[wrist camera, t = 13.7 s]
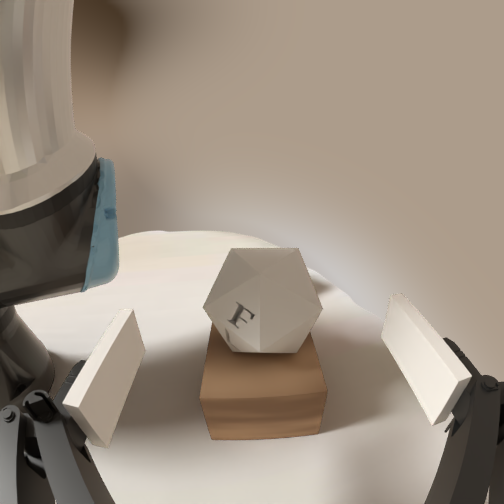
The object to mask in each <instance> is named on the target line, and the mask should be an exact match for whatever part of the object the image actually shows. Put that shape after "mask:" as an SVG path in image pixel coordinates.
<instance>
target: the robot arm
mask: <svg viewBox="0 0 504 504" xmlns="http://www.w3.org/2000/svg"><path fill="white" fill-rule="evenodd" d="M73 3H74V0H0V504H55V500H56V503H57V504H115V502H114V500H113V499H112V497H111V495H110V493H109V491H108V490H107V488H106V486H105V484H104V482H103V480H102V478H101V476H100V474H99V472H98V470H97V468H96V466H95V464H94V461H93V459H92V457H91V455H90V452H89V450H88V448H87V446H86V445H85V440H86V438H88V439H89V441H90V442H91V443H92V444H93V445H96V446H100V447H104V448H108V447H109V444H110V442H111V439H112V436H113V433H114V430H115V428H116V425H117V422H118V419H119V417H120V414H121V411H122V409H123V406H124V404H125V401H126V398H127V396H128V393H129V391H130V388H131V386H132V383H133V381H134V378H135V376H136V373H137V371H138V368H139V366H140V364H141V361H142V359H143V356H144V354H145V352H146V350H145V347H144V344H143V341H142V338H141V334H140V331H139V328H138V324H137V321H136V318H135V314H134V310H133V309H120V310H119V312H118V313H117V315H116V316H115V318H114V319H113V321H112V322H111V324H110V325H109V327H108V328H107V330H106V331H105V333H104V334H103V336H102V337H101V339H100V341H99V342H98V344H97V345H96V347H95V348H94V350H93V352H92V353H91V355H90V357H89V358H88V360H87V361H84V360H81V361H80V362H79V363H77V364H76V365H75V366H74V367H73V368H72V370H71V371H70V373H69V376H67V378H66V380H65V383H63V385H62V386H61V388H60V390H59V391H58V393H57V395H56V396H55V398H54V400H53V401H52V399H51V398H50V396H49V395H48V391H49V389H50V387H51V385H52V382H53V378H54V364H53V361H52V359H51V357H50V355H49V353H48V351H47V349H46V348H45V346H44V345H43V343H42V342H41V341H40V340H39V339H38V338H37V337H36V336H35V334H34V333H33V332H32V331H31V330H30V329H29V327H28V326H27V325H26V324H25V323H24V321H23V320H22V319H21V318H20V317H19V315H18V314H17V312H16V310H15V307H14V305H18V304H23V303H28V302H33V301H38V300H43V299H48V298H53V297H58V296H63V295H68V294H73V293H78V292H85V291H86V290H87V289H90V288H93V287H96V286H100V285H103V284H106V283H109V282H110V281H112V280H113V279H114V278H115V277H116V275H117V273H118V269H119V245H118V228H117V217H116V188H115V170H114V164H113V162H112V161H111V160H110V159H104V158H99V159H98V160H97V157H96V149H95V144H94V142H93V141H92V139H91V138H89V137H88V136H86V135H85V134H83V133H81V132H79V131H78V130H76V128H75V126H74V116H73V103H72V88H71V27H72V13H73ZM381 338H382V340H383V341H384V343H385V344H386V346H387V348H388V349H389V351H390V353H391V354H392V356H393V358H394V359H395V361H396V363H397V364H398V366H399V368H400V369H401V371H402V373H403V374H404V376H405V378H406V380H407V381H408V383H409V385H410V386H411V388H412V390H413V392H414V394H415V395H416V397H417V399H418V401H419V403H420V404H421V406H422V408H423V410H424V412H425V413H426V415H427V417H428V419H429V421H430V423H431V425H432V426H433V425H436V424H438V423H441V422H443V421H445V420H446V419H447V418H448V416H449V415H450V413H451V412H452V413H453V415H454V418H453V419H452V421H451V422H450V424H449V425H448V427H447V428H446V430H445V432H447V431H448V430H449V428H450V430H449V434H448V438H447V441H446V445H445V448H444V452H443V455H442V458H441V461H440V464H439V467H438V470H437V473H436V476H435V479H434V481H433V484H432V487H431V489H430V492H429V494H428V496H427V499H426V501H425V503H424V504H484V503H485V500H486V496H487V492H488V488H489V504H504V382H498V381H497V380H496V379H495V378H494V377H492V376H489V375H483V376H482V375H480V373H479V372H478V370H477V369H476V368H475V367H474V365H473V364H472V363H471V362H470V360H469V359H468V358H467V357H465V354H464V353H463V352H462V351H460V348H459V347H458V346H457V345H456V344H455V343H454V342H453V341H451V340H449V339H448V338H441V337H440V335H439V334H438V333H437V332H436V331H435V329H434V328H433V327H432V326H431V325H430V324H429V322H428V321H427V320H426V319H425V318H424V317H423V316H422V315H421V313H420V312H419V311H418V310H417V309H416V308H415V307H414V306H413V304H412V303H411V302H410V301H409V300H408V299H407V298H406V297H405V296H404V295H403V294H402V293H401V294H393V295H390V298H389V303H388V308H387V313H386V318H385V322H384V327H383V331H382V335H381Z"/></svg>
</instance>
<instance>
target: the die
mask: <svg viewBox="0 0 504 504" xmlns="http://www.w3.org/2000/svg"><path fill="white" fill-rule="evenodd" d="M203 309H204V310H205V312H206V313H207V315H208V316H209V318H210V319H211V321H212V322H213V324H214V325H215V327H216V328H217V330H218V331H219V333H220V334H221V336H222V337H223V339H224V340H225V341H226V343H227V344H228V346H229V347H230V349H231V350H232V352H252V353H297V352H298V350H299V348H300V347H301V345H302V344H303V342H304V340H305V339H306V337H307V335H308V334H309V332H310V330H311V328H312V327H313V325H314V323H315V322H316V320H317V318H318V316H319V315H320V313H321V311H322V309H323V308H322V305H321V303H320V300H319V298H318V295H317V293H316V290H315V288H314V285H313V283H312V280H311V278H310V275H309V273H308V270H307V268H306V265H305V263H304V261H303V258H302V256H301V253H300V251H299V249H298V248H231V250H230V252H229V254H228V256H227V258H226V260H225V262H224V264H223V266H222V268H221V270H220V272H219V274H218V277H217V279H216V281H215V283H214V285H213V287H212V289H211V291H210V293H209V295H208V298H207V300H206V302H205V304H204V306H203Z"/></svg>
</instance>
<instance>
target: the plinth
mask: <svg viewBox="0 0 504 504" xmlns="http://www.w3.org/2000/svg"><path fill="white" fill-rule="evenodd" d="M327 392H328V391H327V387H326V384H325V380H324V377H323V373H322V370H321V367H320V363H319V360H318V357H317V353H316V350H315V347H314V343H313V340H312V337H311V333H310V332H309V334H308V335H307V337H306V339H305V340H304V342H303V344H302V345H301V347H300V348H299V350H298V352H297V353H252V352H232V350H231V349H230V347H229V346H228V344H227V343H226V341H225V340H224V339H223V337H222V336H221V334H220V333H219V331H218V330H217V328H216V327H215V325H214V324H213V322H212V327H211V332H210V338H209V343H208V349H207V355H206V361H205V367H204V372H203V378H202V384H201V391H200V397H199V399H200V402H201V406H202V409H203V413H204V416H205V420H206V423H207V426H208V430H209V433H210V436H211V439H212V440H253V439H273V438H286V437H297V436H306V435H314V434H318V432H319V428H320V424H321V420H322V415H323V411H324V406H325V402H326V397H327Z"/></svg>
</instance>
